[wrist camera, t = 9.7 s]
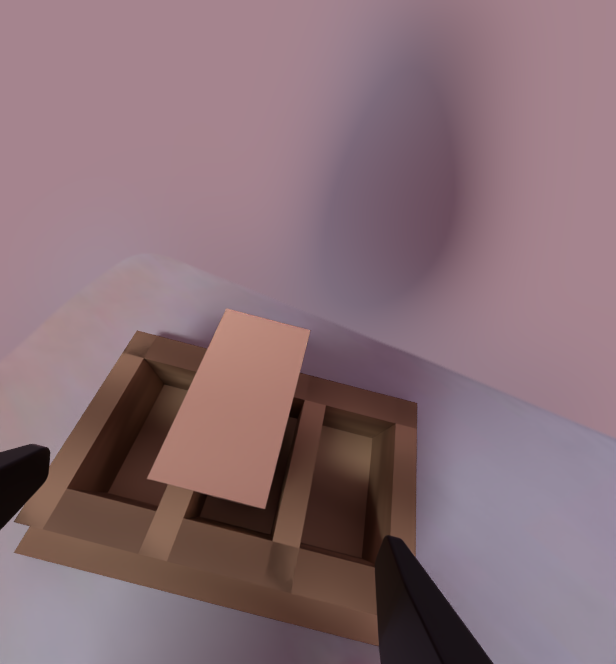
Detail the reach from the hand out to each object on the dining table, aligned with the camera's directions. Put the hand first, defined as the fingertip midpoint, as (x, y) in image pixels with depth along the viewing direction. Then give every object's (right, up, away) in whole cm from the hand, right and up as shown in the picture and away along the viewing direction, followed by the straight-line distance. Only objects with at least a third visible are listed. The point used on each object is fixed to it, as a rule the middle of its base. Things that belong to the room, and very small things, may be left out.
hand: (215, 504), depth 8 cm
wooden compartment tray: (-1, -4, +11) cm, 12 cm away
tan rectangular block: (-1, -3, +10) cm, 11 cm away
